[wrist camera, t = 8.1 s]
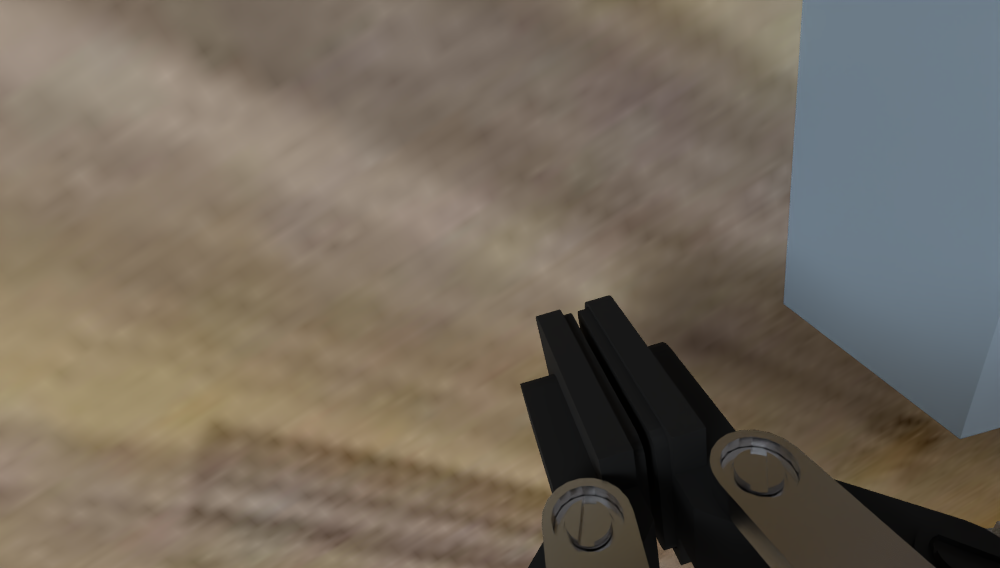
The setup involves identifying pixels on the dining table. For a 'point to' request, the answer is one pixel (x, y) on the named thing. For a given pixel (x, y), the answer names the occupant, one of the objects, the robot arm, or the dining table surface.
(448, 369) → the dining table surface
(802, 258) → the dusty-blue block
